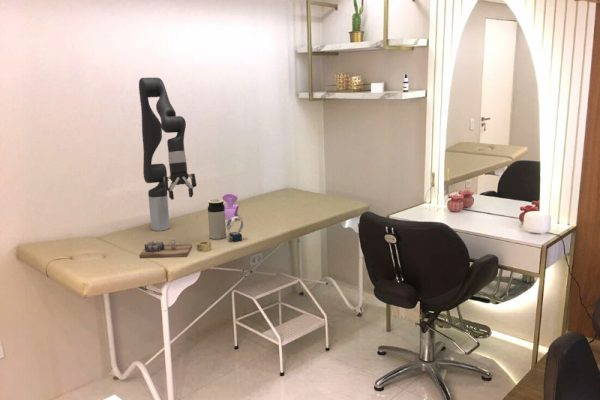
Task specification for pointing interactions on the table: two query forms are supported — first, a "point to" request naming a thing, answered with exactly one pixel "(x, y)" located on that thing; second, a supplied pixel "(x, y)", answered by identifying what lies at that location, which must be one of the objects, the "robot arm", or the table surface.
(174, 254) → the gear board
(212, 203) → the travel mug
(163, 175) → the robot arm
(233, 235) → the watch
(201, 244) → the brass gear
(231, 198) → the toy chair
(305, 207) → the table surface
